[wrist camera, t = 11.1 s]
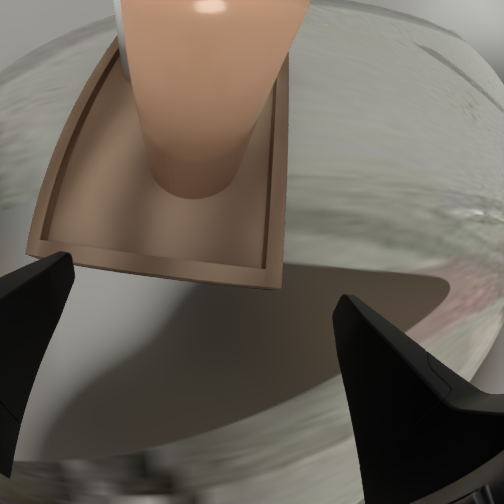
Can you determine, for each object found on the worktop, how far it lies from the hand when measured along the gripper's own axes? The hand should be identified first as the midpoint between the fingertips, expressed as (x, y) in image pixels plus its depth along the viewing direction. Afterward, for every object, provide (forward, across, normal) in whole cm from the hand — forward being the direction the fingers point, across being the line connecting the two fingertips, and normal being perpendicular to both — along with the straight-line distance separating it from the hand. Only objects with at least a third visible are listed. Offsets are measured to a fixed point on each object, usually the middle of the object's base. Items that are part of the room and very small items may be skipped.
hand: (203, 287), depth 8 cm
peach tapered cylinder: (+12, +2, -2) cm, 12 cm away
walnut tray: (+14, +4, -3) cm, 15 cm away
